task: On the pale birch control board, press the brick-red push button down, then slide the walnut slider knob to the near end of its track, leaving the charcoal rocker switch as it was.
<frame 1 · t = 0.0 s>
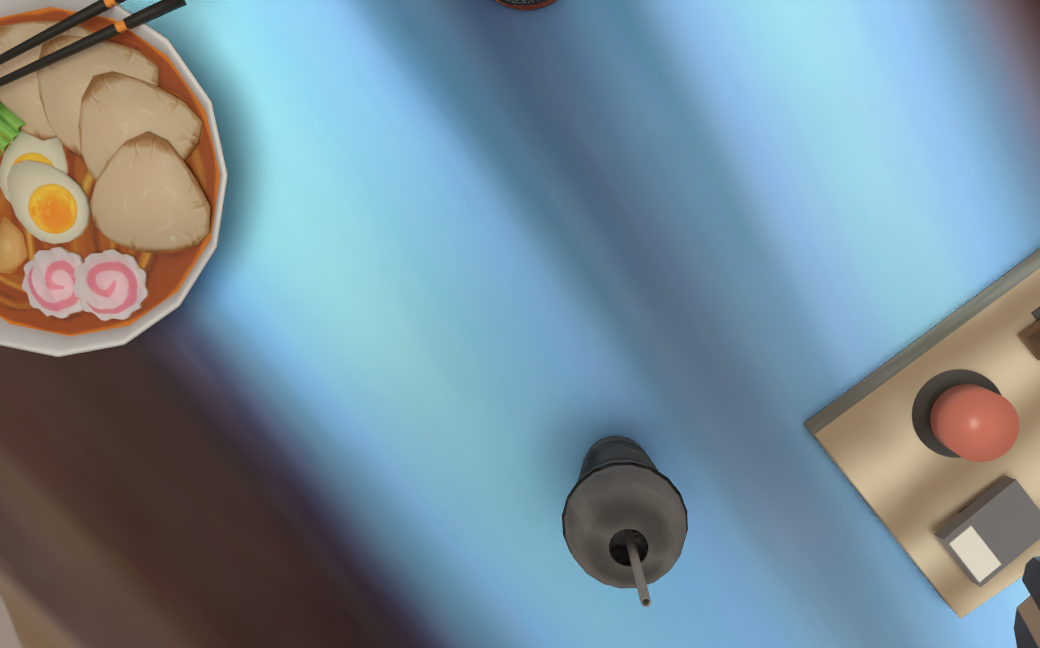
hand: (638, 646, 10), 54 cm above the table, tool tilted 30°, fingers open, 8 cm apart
charcoal rocker switch: (993, 531, 60), point 5 cm above the table, hinge at 8.0°
beverage cup: (615, 466, 66), on the table
brick-red push button: (973, 422, 58), point 5 cm above the table, slide at 0.0 cm
ramen bowl: (106, 177, 65), on the table
control board: (995, 425, 64), on the table
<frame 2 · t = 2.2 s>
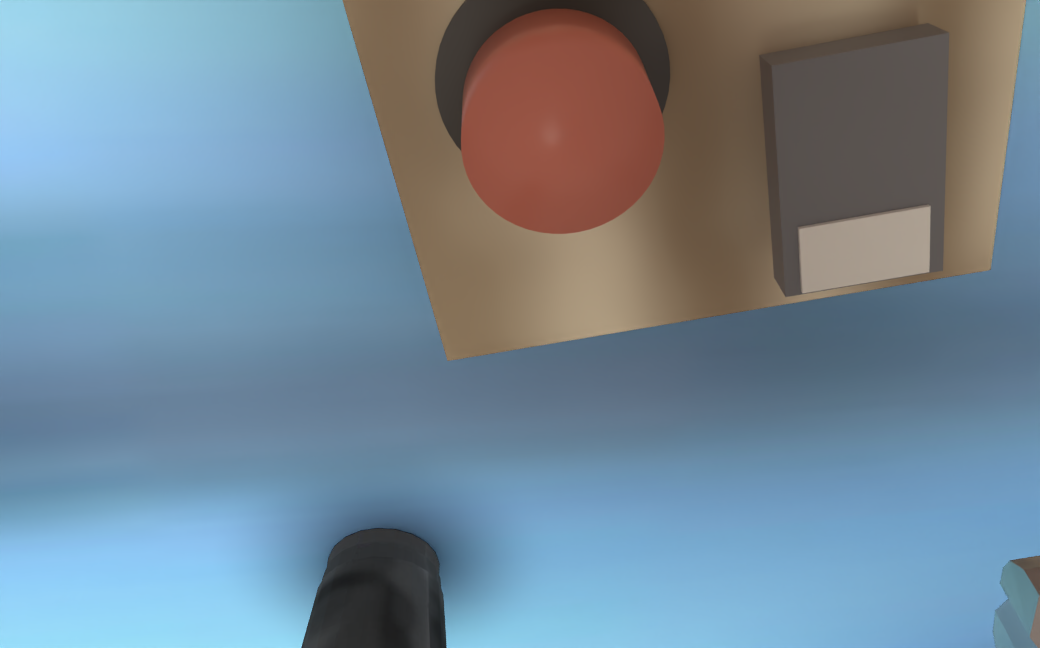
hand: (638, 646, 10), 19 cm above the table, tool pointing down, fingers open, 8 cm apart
charcoal rocker switch: (854, 166, 23), point 5 cm above the table, hinge at 8.0°
beverage cup: (384, 562, 38), on the table
brick-red push button: (559, 122, 21), point 5 cm above the table, slide at 0.0 cm
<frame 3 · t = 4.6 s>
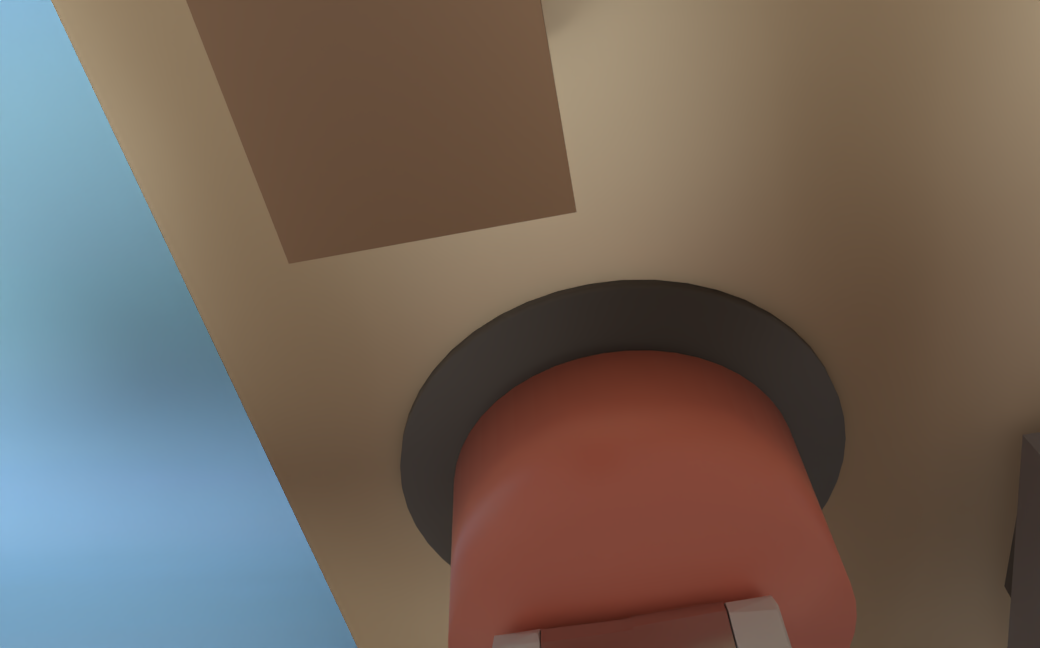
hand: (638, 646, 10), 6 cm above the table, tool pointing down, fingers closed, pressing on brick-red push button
brick-red push button: (636, 558, 11), point 5 cm above the table, slide at 0.9 cm, touching gripper
control board: (820, 179, 13), on the table
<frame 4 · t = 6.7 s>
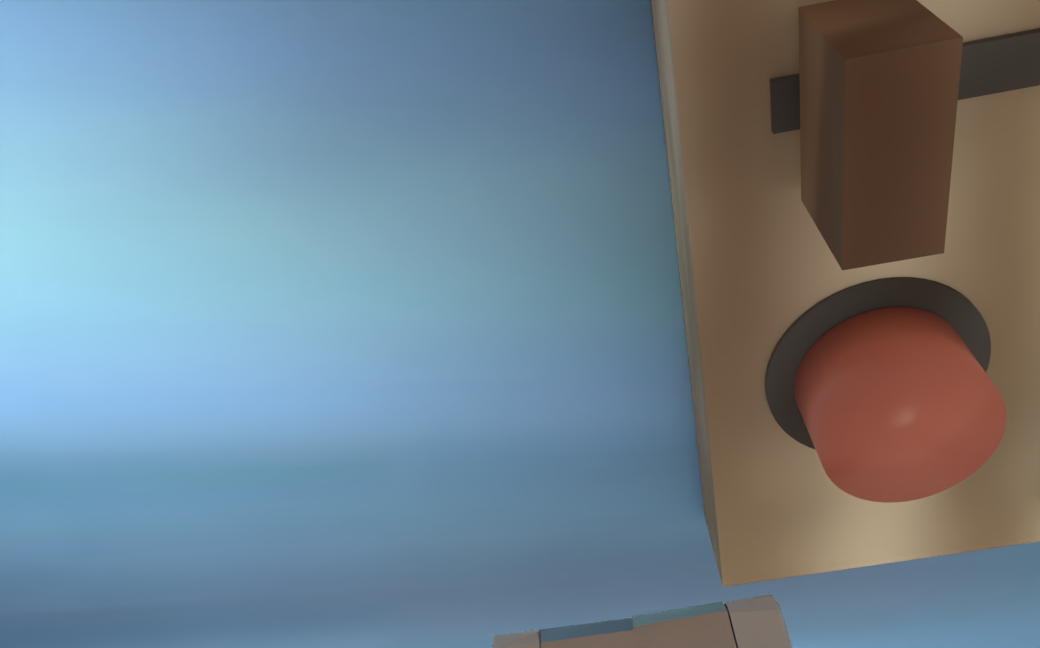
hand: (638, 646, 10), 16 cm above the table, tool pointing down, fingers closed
brick-red push button: (894, 405, 24), point 4 cm above the table, slide at 1.0 cm
walnut slider knob: (871, 129, 19), point 5 cm above the table, slide at 0.0 cm
control board: (969, 225, 26), on the table
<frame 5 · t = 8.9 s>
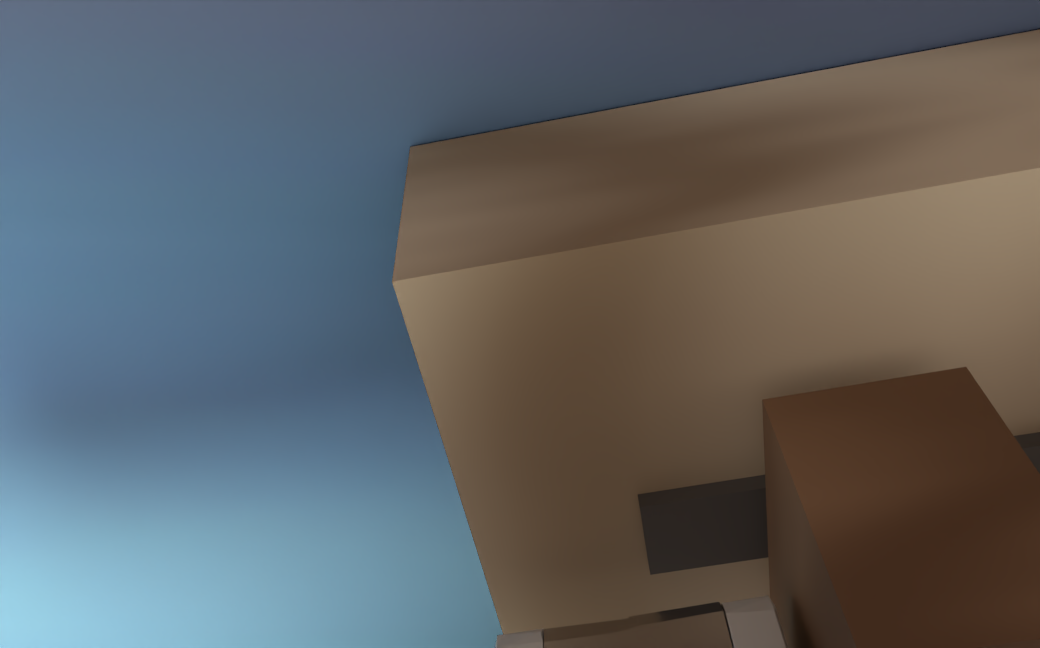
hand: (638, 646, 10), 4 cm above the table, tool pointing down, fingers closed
walnut slider knob: (906, 646, 9), point 5 cm above the table, slide at 0.9 cm, touching gripper
control board: (989, 575, 17), on the table
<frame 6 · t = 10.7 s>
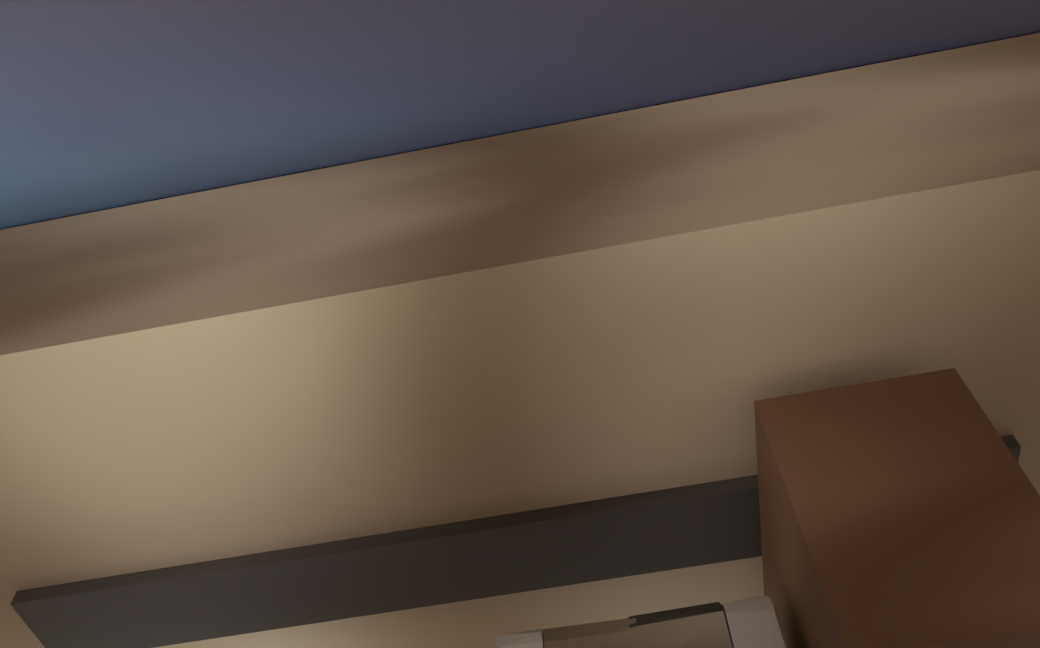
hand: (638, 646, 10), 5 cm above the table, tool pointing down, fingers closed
walnut slider knob: (896, 643, 9), point 5 cm above the table, slide at 8.5 cm, touching gripper
control board: (562, 635, 17), on the table
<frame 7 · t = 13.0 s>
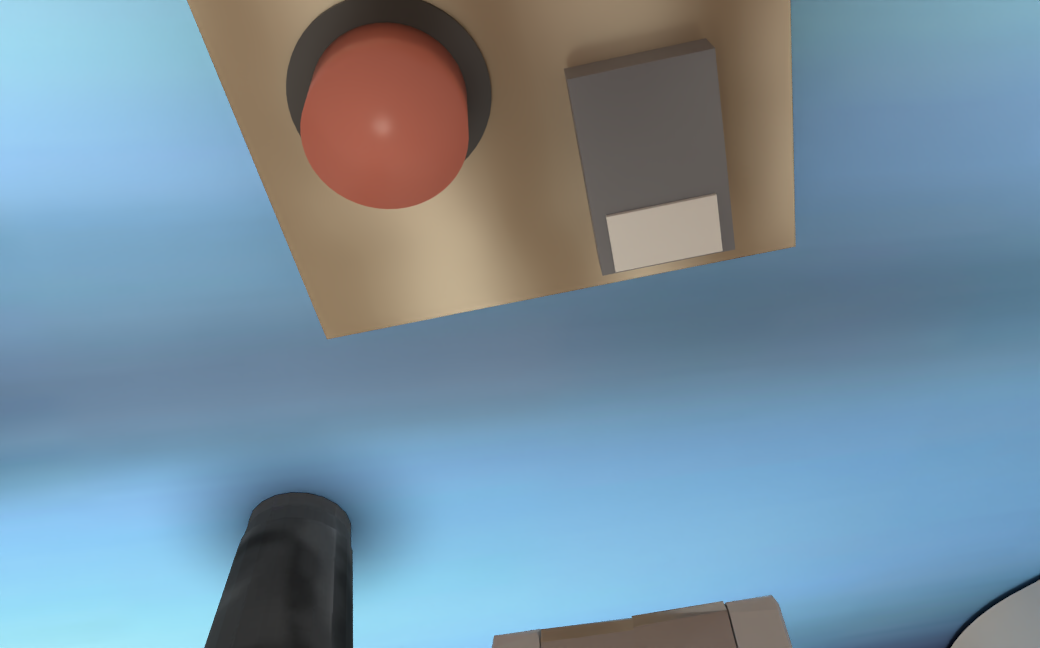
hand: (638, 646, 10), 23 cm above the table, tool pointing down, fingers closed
charcoal rocker switch: (652, 162, 27), point 5 cm above the table, hinge at 8.0°
beverage cup: (300, 523, 42), on the table
brick-red push button: (387, 117, 26), point 4 cm above the table, slide at 1.0 cm
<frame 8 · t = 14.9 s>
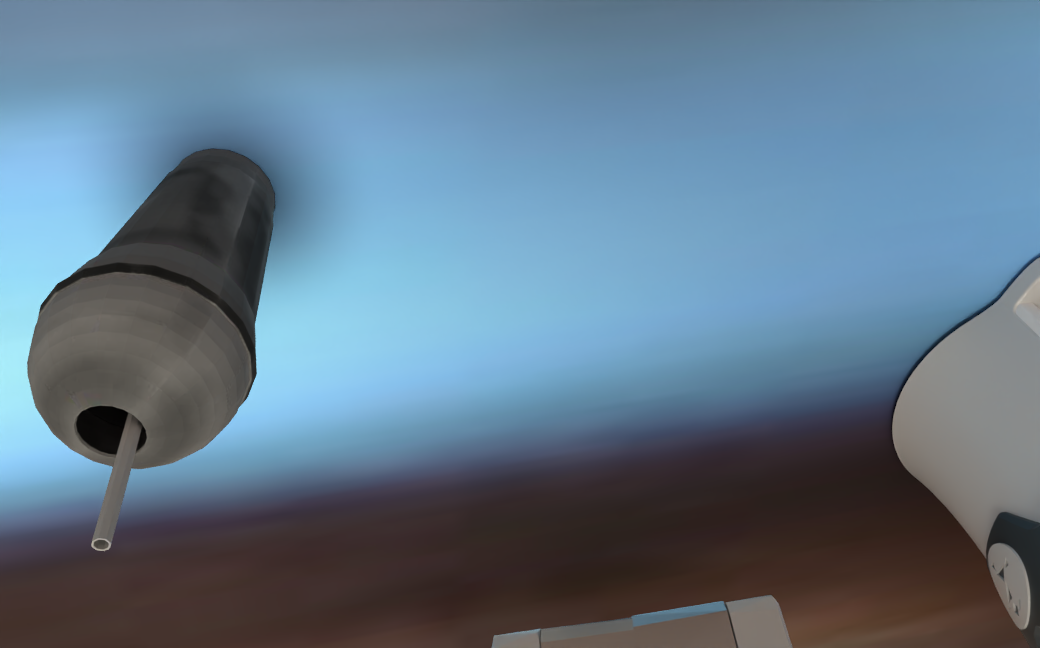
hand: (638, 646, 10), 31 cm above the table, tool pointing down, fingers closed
beverage cup: (224, 193, 41), on the table
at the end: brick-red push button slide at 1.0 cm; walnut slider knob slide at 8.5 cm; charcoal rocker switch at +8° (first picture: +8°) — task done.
